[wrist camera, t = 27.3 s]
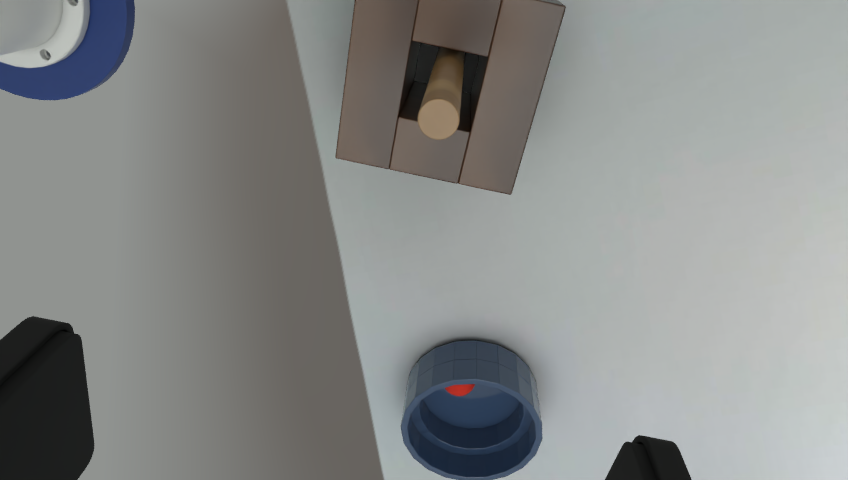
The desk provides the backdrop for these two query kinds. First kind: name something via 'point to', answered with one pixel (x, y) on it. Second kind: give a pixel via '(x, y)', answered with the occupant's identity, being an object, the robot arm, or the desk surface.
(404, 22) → the stick stand
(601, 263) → the desk surface
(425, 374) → the mixing bowl
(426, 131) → the stick
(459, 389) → the ball
